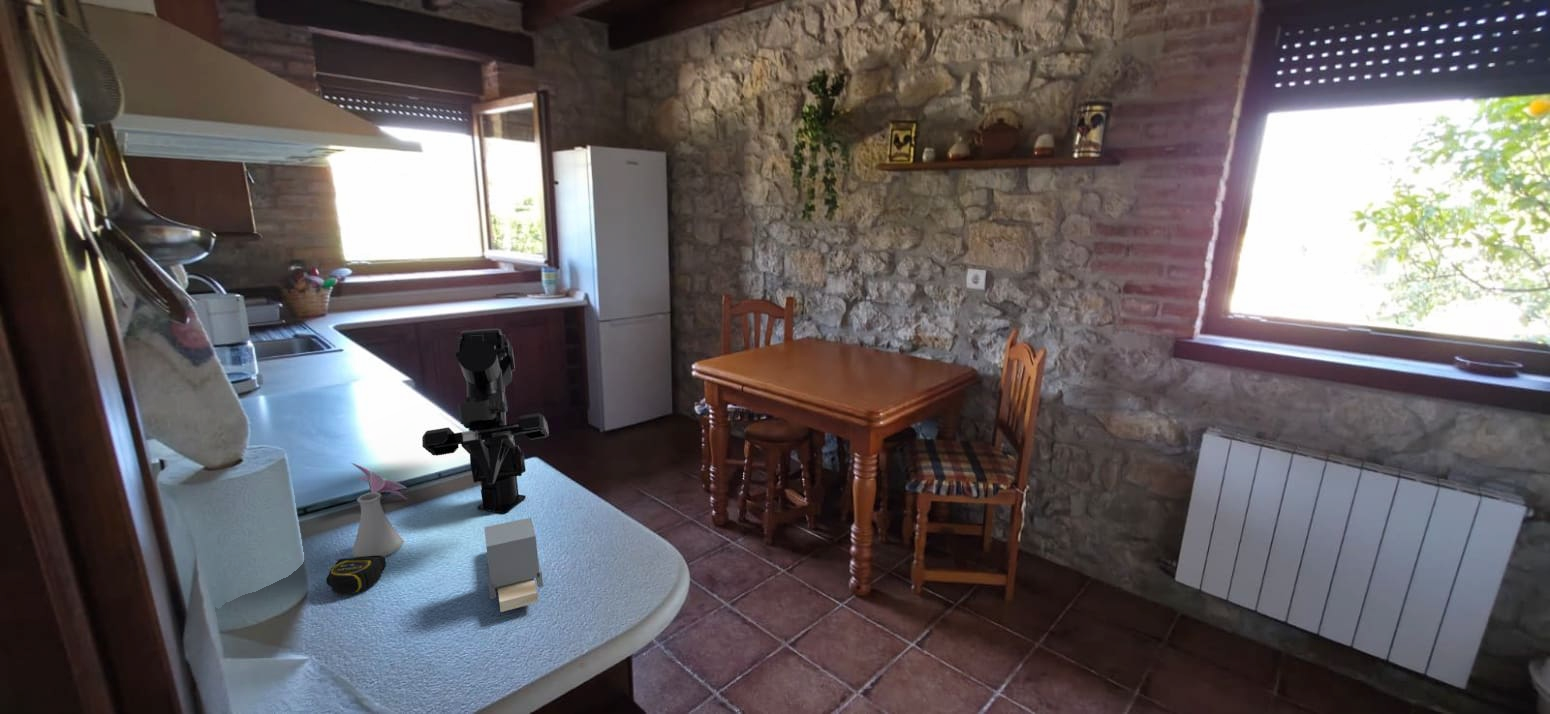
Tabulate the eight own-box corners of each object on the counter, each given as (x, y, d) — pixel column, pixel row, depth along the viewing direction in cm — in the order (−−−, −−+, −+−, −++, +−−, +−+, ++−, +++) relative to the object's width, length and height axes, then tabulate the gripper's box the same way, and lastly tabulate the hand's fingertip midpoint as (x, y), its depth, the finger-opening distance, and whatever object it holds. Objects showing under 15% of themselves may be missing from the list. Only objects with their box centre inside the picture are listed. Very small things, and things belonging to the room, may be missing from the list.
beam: (493, 550, 107) (491, 534, 106) (524, 543, 109) (523, 527, 108) (501, 621, 90) (499, 602, 89) (539, 611, 92) (537, 592, 91)
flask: (379, 564, 103) (370, 509, 101) (342, 559, 105) (331, 504, 102) (413, 541, 110) (404, 488, 107) (377, 536, 111) (368, 484, 109)
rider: (488, 577, 97) (482, 527, 95) (538, 565, 100) (533, 516, 98) (490, 599, 92) (483, 547, 90) (543, 586, 95) (537, 535, 93)
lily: (410, 517, 120) (421, 470, 122) (343, 512, 113) (356, 463, 115) (396, 514, 128) (407, 469, 130) (333, 509, 121) (345, 462, 123)
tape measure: (390, 571, 102) (386, 550, 101) (371, 597, 95) (367, 575, 94) (343, 575, 101) (339, 554, 100) (321, 602, 94) (316, 579, 93)
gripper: (409, 387, 100) (410, 483, 94) (533, 369, 104) (542, 460, 99) (432, 410, 110) (435, 499, 104) (545, 393, 114) (553, 477, 109)
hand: (491, 483), depth 104 cm, fingers closed
